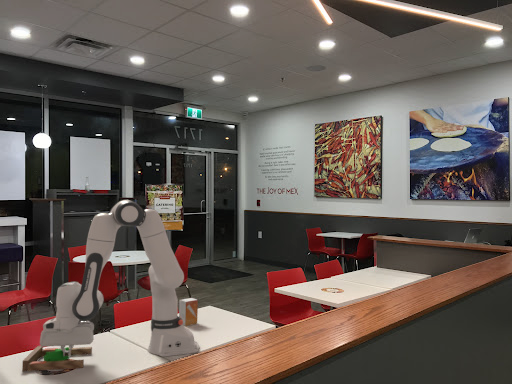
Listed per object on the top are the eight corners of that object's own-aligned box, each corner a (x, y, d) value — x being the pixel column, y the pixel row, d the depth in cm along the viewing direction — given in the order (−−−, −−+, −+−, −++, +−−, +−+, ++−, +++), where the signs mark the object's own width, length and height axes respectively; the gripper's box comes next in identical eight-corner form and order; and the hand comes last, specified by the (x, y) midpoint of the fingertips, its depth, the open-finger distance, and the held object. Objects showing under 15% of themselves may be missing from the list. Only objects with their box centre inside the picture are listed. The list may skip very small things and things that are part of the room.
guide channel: (91, 352, 181) (92, 343, 181) (82, 367, 164) (82, 357, 164) (37, 355, 177) (37, 345, 177) (22, 371, 160) (22, 360, 161)
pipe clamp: (62, 357, 176) (62, 346, 176) (69, 358, 174) (69, 347, 174) (38, 366, 165) (39, 354, 166) (45, 367, 164) (45, 355, 164)
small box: (185, 326, 221) (185, 301, 222) (178, 323, 226) (179, 299, 226) (197, 323, 227) (198, 299, 227) (190, 321, 231) (191, 297, 232)
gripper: (95, 318, 177) (95, 351, 176) (43, 320, 173) (43, 354, 173) (92, 322, 170) (91, 357, 170) (38, 325, 167) (38, 360, 166)
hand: (67, 355), depth 171 cm, fingers closed
